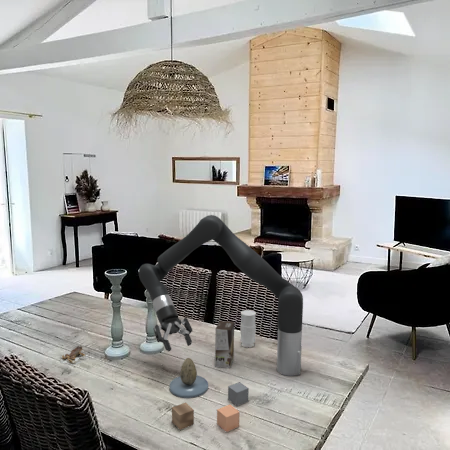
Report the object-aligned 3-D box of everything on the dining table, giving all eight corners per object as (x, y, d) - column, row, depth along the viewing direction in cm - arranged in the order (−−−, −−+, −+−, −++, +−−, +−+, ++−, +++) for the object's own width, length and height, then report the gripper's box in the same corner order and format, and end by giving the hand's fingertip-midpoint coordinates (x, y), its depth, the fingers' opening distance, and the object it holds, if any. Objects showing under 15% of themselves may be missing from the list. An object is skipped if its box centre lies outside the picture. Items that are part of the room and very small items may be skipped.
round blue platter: (212, 380, 157) (212, 377, 157) (201, 400, 144) (201, 397, 144) (177, 375, 161) (177, 372, 161) (163, 394, 147) (163, 391, 147)
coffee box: (230, 368, 167) (230, 330, 164) (214, 366, 168) (214, 328, 165) (234, 358, 175) (234, 321, 173) (219, 356, 177) (219, 320, 174)
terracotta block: (229, 418, 134) (229, 404, 134) (239, 426, 130) (239, 411, 130) (216, 424, 131) (217, 409, 131) (226, 432, 127) (226, 417, 127)
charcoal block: (239, 395, 148) (239, 381, 147) (248, 401, 144) (248, 388, 143) (228, 399, 145) (228, 386, 144) (236, 406, 141) (236, 392, 140)
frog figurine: (70, 350, 182) (70, 342, 181) (94, 355, 178) (93, 346, 178) (52, 362, 171) (51, 353, 171) (76, 367, 167) (76, 358, 167)
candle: (237, 346, 186) (238, 314, 184) (243, 340, 193) (243, 309, 191) (252, 349, 184) (253, 316, 182) (257, 342, 190) (258, 311, 188)
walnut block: (185, 416, 135) (185, 402, 134) (193, 424, 131) (193, 409, 130) (172, 422, 132) (171, 407, 131) (179, 430, 128) (179, 415, 127)
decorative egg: (190, 390, 148) (190, 363, 147) (176, 385, 151) (176, 359, 150) (199, 382, 153) (200, 357, 152) (186, 378, 156) (186, 353, 155)
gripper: (151, 308, 156) (166, 348, 148) (184, 301, 164) (200, 338, 157) (145, 317, 161) (159, 356, 153) (177, 310, 169) (192, 347, 162)
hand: (180, 347), depth 155 cm, fingers open, 8 cm apart
